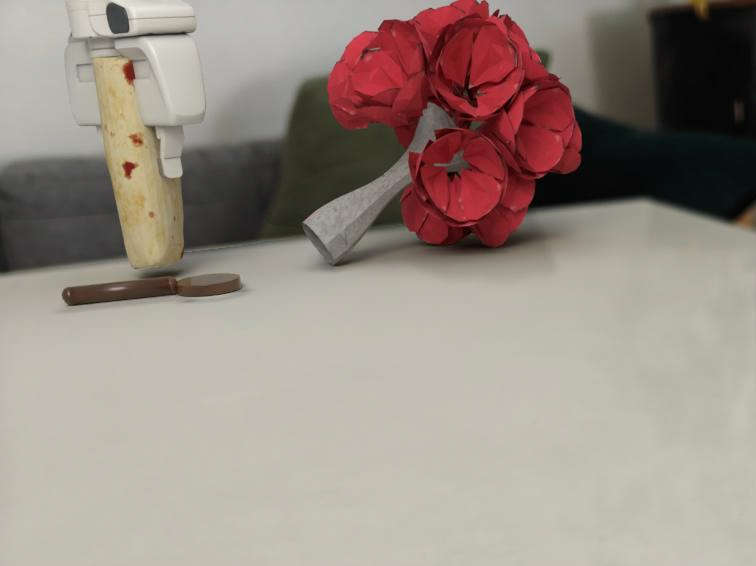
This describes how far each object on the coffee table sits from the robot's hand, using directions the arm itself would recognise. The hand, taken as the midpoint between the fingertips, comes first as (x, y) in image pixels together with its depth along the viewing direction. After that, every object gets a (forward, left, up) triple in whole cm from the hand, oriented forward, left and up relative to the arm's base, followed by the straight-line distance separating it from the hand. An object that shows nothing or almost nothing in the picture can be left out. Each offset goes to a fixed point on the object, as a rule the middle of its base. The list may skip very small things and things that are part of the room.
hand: (147, 176), depth 111 cm
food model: (0, 0, -9) cm, 9 cm away
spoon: (+9, -7, -10) cm, 15 cm away
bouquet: (+16, +24, -10) cm, 31 cm away
